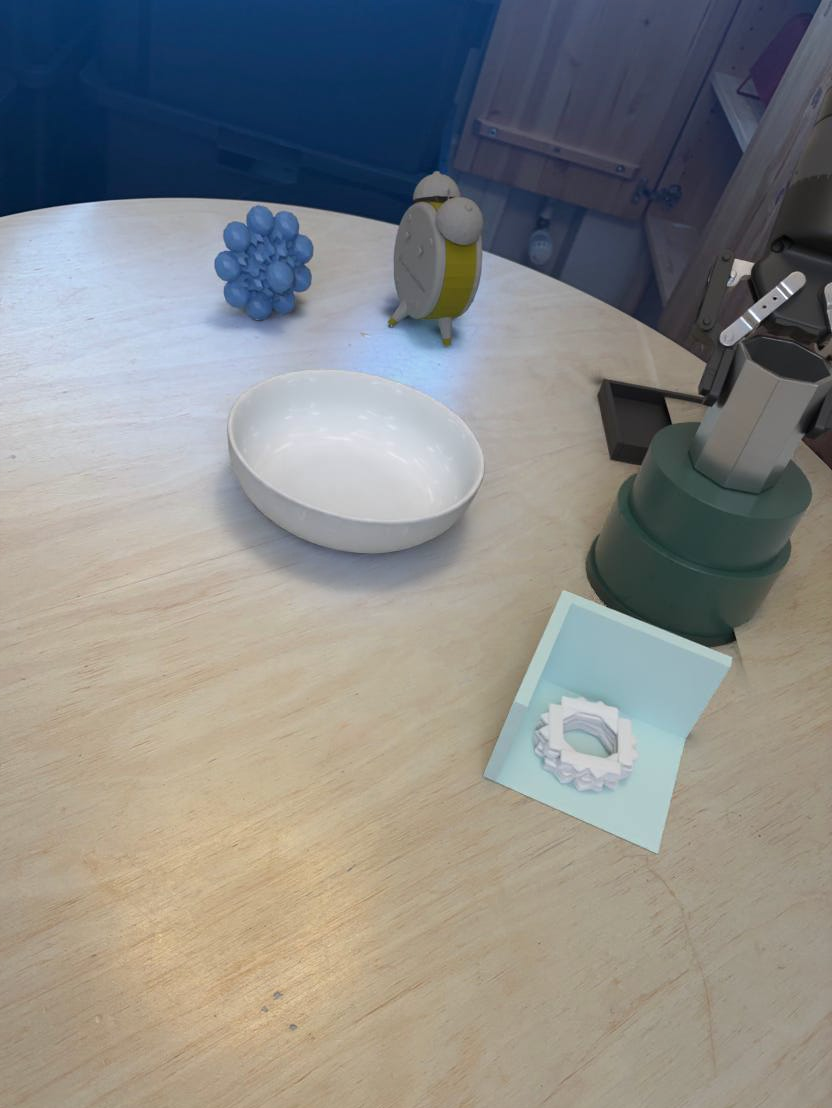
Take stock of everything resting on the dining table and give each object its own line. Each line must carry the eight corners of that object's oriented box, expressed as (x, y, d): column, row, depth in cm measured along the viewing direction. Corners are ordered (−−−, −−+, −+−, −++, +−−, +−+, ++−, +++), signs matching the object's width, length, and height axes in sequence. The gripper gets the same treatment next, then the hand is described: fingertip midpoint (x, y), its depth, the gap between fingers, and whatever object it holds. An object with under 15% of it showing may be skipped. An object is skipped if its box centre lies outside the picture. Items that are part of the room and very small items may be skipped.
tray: (708, 415, 105) (715, 399, 103) (731, 481, 96) (740, 464, 95) (597, 394, 104) (603, 378, 103) (610, 459, 95) (617, 442, 94)
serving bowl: (278, 610, 73) (289, 538, 68) (187, 449, 85) (191, 379, 80) (511, 564, 81) (535, 497, 76) (397, 424, 94) (412, 358, 89)
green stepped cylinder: (735, 546, 88) (799, 432, 80) (773, 660, 78) (851, 544, 69) (578, 517, 87) (625, 400, 79) (595, 629, 77) (651, 508, 69)
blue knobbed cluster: (231, 347, 99) (241, 229, 90) (199, 316, 102) (206, 199, 94) (327, 330, 104) (345, 217, 96) (294, 301, 108) (308, 190, 100)
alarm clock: (463, 352, 106) (500, 212, 96) (406, 353, 104) (437, 210, 93) (423, 300, 113) (454, 165, 103) (368, 300, 111) (394, 162, 101)
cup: (763, 450, 77) (819, 345, 70) (782, 498, 72) (844, 391, 66) (684, 435, 76) (733, 328, 70) (698, 483, 72) (752, 373, 66)
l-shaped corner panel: (482, 776, 65) (513, 700, 59) (531, 664, 73) (563, 589, 68) (657, 854, 62) (706, 782, 57) (687, 729, 71) (732, 657, 66)
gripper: (755, 144, 67) (673, 371, 67) (969, 203, 65) (884, 437, 65) (727, 199, 75) (653, 404, 74) (918, 253, 73) (842, 463, 72)
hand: (761, 419), depth 70 cm, fingers closed on cup, 7 cm apart
